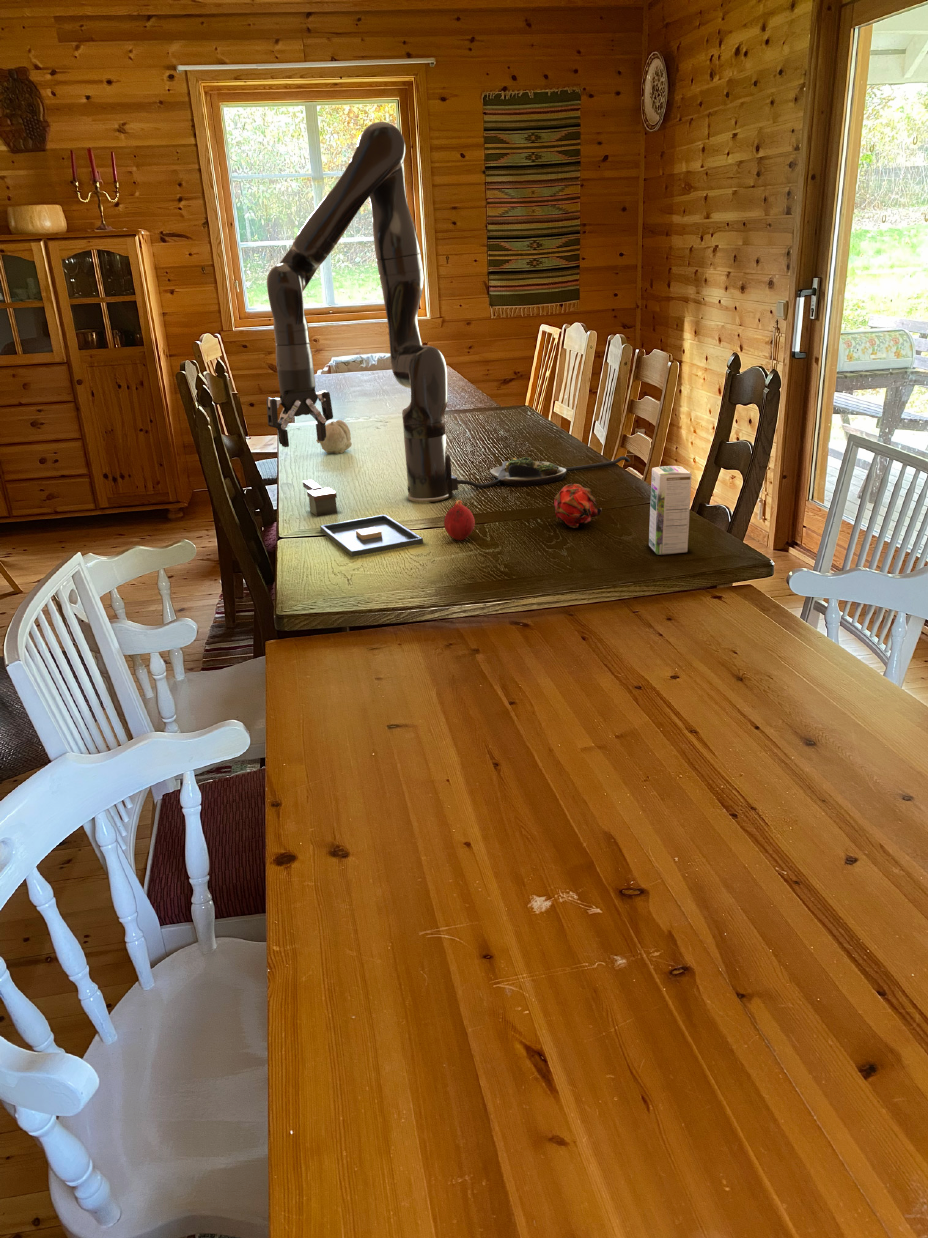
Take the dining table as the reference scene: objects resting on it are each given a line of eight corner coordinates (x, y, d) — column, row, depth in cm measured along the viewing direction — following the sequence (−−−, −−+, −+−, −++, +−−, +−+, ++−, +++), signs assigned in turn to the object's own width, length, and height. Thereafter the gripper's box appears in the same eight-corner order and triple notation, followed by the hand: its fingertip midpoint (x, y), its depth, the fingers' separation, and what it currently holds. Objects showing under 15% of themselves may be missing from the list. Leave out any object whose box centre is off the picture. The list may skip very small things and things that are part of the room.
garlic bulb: (350, 458, 263) (359, 424, 260) (343, 459, 255) (352, 424, 252) (319, 448, 263) (327, 414, 261) (311, 449, 255) (319, 414, 252)
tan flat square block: (375, 531, 183) (374, 526, 182) (382, 536, 179) (381, 531, 179) (356, 535, 181) (355, 530, 181) (362, 540, 178) (362, 535, 177)
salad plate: (474, 472, 227) (473, 454, 225) (540, 463, 232) (540, 445, 230) (504, 489, 210) (503, 469, 208) (574, 479, 215) (574, 460, 213)
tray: (386, 520, 191) (385, 514, 190) (423, 545, 174) (422, 538, 173) (320, 532, 186) (319, 525, 185) (352, 558, 169) (351, 551, 168)
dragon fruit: (568, 522, 188) (588, 546, 178) (536, 503, 184) (555, 527, 174) (593, 488, 186) (614, 511, 176) (561, 468, 182) (582, 490, 172)
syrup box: (647, 545, 166) (649, 466, 161) (679, 543, 167) (682, 464, 161) (656, 555, 161) (658, 474, 155) (689, 552, 161) (692, 471, 156)
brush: (338, 513, 198) (336, 490, 196) (316, 517, 196) (313, 494, 195) (319, 500, 210) (317, 478, 208) (298, 503, 208) (296, 481, 206)
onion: (472, 546, 172) (470, 504, 169) (442, 545, 173) (439, 504, 170) (478, 536, 177) (476, 496, 174) (449, 536, 178) (446, 496, 175)
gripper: (271, 371, 184) (281, 451, 190) (333, 363, 192) (341, 440, 198) (256, 368, 190) (265, 446, 196) (317, 361, 198) (324, 436, 204)
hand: (303, 443), depth 197 cm, fingers open, 8 cm apart
